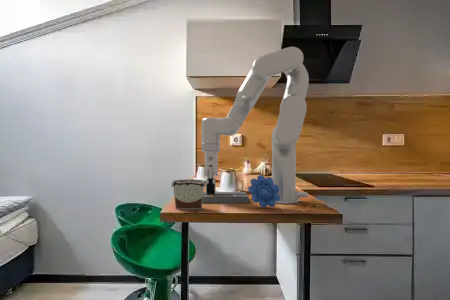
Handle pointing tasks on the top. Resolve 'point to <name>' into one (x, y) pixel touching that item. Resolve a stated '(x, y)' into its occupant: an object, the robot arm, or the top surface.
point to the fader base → (226, 197)
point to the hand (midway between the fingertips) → (210, 192)
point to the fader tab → (215, 186)
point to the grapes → (264, 191)
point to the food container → (188, 193)
